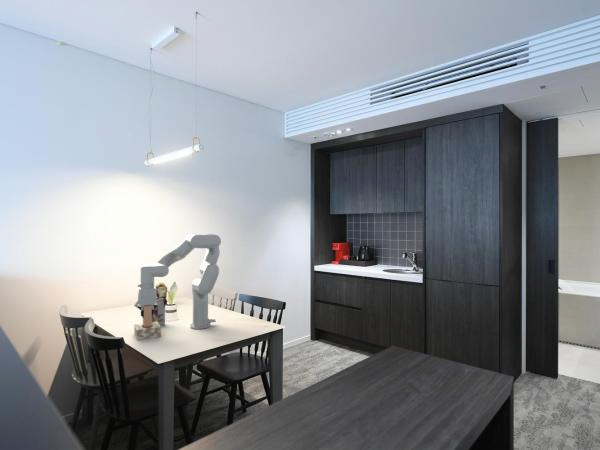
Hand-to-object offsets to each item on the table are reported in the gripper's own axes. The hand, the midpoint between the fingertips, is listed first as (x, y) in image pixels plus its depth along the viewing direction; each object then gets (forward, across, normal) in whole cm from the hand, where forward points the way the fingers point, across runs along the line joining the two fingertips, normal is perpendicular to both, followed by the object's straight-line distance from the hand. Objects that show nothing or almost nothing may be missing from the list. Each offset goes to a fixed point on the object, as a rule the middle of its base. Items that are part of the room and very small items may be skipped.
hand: (147, 316), depth 217 cm
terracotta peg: (+5, 0, 0) cm, 5 cm away
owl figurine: (+11, +20, +82) cm, 85 cm away
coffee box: (+11, +8, +20) cm, 24 cm away
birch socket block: (+11, 0, 0) cm, 11 cm away
